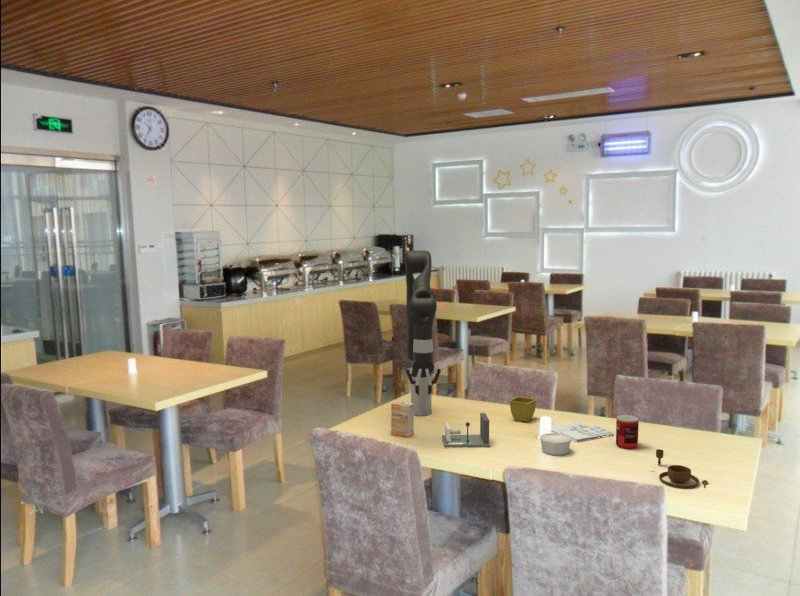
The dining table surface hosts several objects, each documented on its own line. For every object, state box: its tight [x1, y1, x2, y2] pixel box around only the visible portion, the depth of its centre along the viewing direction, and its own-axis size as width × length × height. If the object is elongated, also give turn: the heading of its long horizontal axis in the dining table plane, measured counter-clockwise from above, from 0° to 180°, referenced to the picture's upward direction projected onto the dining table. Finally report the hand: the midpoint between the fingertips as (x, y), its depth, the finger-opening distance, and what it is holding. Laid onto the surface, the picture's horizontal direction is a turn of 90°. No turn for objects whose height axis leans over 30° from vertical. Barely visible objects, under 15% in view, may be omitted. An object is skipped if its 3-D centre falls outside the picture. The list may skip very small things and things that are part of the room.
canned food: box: [615, 414, 640, 450], centre depth 243 cm, size 8×8×11 cm
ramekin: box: [539, 432, 572, 456], centre depth 239 cm, size 11×11×5 cm
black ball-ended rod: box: [465, 421, 471, 443], centre depth 244 cm, size 2×2×8 cm
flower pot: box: [509, 396, 537, 423], centre depth 277 cm, size 9×9×9 cm
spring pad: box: [444, 421, 462, 443], centre depth 249 cm, size 10×6×5 cm, turn 1°
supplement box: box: [390, 400, 415, 438], centre depth 259 cm, size 8×5×13 cm, turn 62°
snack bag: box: [551, 421, 614, 443], centre depth 261 cm, size 19×20×2 cm
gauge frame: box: [441, 412, 491, 448], centre depth 249 cm, size 12×17×10 cm
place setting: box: [650, 448, 709, 490], centre depth 213 cm, size 18×20×6 cm
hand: (423, 394), depth 247 cm, fingers open, 3 cm apart
